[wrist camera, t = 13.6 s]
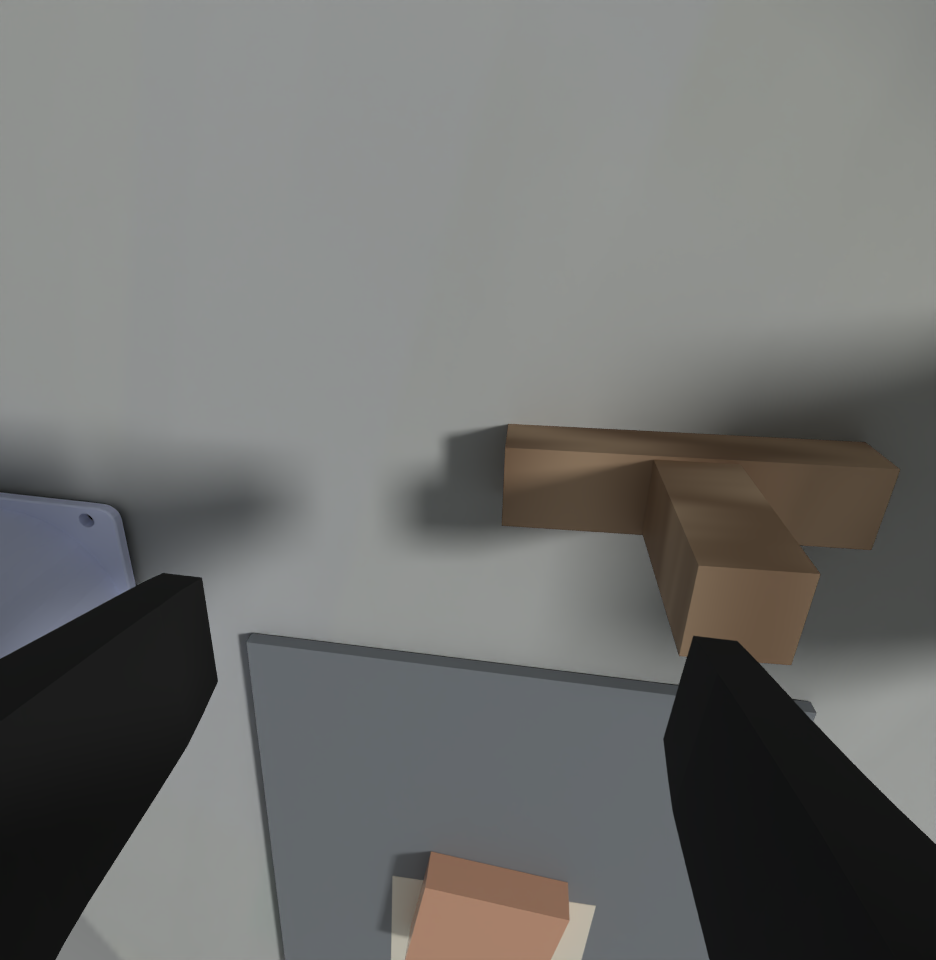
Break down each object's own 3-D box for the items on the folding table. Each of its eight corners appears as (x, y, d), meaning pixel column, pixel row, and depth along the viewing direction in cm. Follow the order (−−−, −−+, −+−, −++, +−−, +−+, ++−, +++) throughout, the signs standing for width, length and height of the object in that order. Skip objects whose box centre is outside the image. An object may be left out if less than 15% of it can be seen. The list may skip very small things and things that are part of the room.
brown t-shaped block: (505, 494, 19) (488, 644, 13) (508, 422, 18) (492, 547, 12) (839, 514, 18) (996, 686, 12) (862, 440, 17) (1049, 585, 11)
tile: (410, 928, 29) (403, 964, 27) (431, 851, 26) (425, 887, 25) (534, 956, 29) (534, 994, 27) (568, 882, 26) (569, 920, 25)
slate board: (290, 960, 32) (286, 972, 32) (252, 633, 22) (246, 642, 22) (674, 1021, 31) (676, 1034, 30) (810, 701, 21) (816, 713, 21)
